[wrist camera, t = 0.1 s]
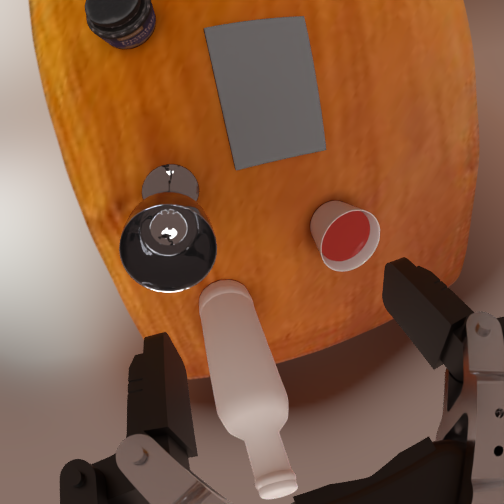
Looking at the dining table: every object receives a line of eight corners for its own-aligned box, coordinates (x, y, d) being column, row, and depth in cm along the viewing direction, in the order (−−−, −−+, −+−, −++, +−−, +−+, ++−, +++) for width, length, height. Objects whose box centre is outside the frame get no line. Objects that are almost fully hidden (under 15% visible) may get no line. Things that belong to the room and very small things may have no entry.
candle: (300, 199, 41) (319, 218, 36) (357, 187, 42) (381, 203, 37) (304, 255, 46) (321, 278, 40) (356, 241, 47) (377, 261, 41)
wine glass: (163, 233, 39) (160, 306, 26) (126, 186, 35) (99, 243, 22) (214, 199, 38) (235, 260, 26) (179, 147, 34) (179, 184, 21)
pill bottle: (133, 58, 27) (113, 44, 18) (94, 35, 24) (62, 16, 15) (167, 18, 26) (163, -12, 16) (128, -5, 23) (110, -39, 14)
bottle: (257, 283, 46) (337, 472, 21) (239, 322, 49) (297, 499, 24) (206, 273, 43) (255, 486, 18) (192, 315, 46) (225, 508, 21)
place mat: (203, 29, 27) (204, 28, 27) (302, 17, 29) (303, 16, 28) (235, 169, 37) (236, 170, 36) (324, 149, 38) (326, 149, 38)
